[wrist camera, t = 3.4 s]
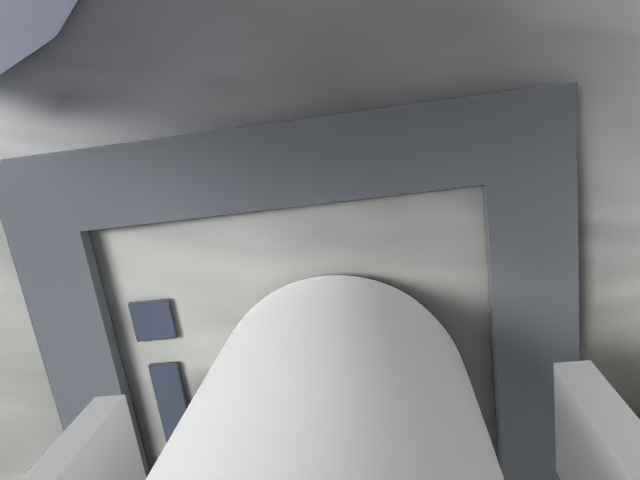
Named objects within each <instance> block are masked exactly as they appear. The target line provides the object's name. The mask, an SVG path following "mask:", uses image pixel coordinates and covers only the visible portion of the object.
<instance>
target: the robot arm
mask: <svg viewBox="0 0 640 480" xmlns="http://www.w3.org/2000/svg"><path fill="white" fill-rule="evenodd" d="M554 404H555V445H556V471H557V473H558V475H559V477H560V479H561V480H640V419H639V418H638V417H637V416H636V415H635V413H634V412H633V411H632V410H631V409H630V407H629V406H628V405H627V404H626V403H625V401H624V400H623V399H622V398H621V396H620V395H619V394H618V393H617V392H616V390H615V389H614V388H613V387H612V386H611V384H610V383H609V382H608V381H607V380H606V378H605V377H604V376H603V375H602V373H601V372H600V371H599V370H598V369H597V367H596V366H595V365H594V364H593V363H592V361H591V360H586V361H572V362H558V363H554ZM20 480H146V475H145V471H144V467H143V463H142V459H141V455H140V451H139V447H138V444H137V440H136V436H135V432H134V428H133V424H132V420H131V416H130V412H129V408H128V404H127V401H126V397H125V395H112V396H98V397H94V399H93V400H92V401H91V402H90V403H89V404H88V405H87V406H86V407H85V408H84V410H83V411H82V412H81V413H80V414H79V415H78V416H77V417H76V418H75V420H74V421H73V422H72V423H71V424H70V425H69V426H68V427H67V428H66V429H65V431H64V432H63V433H62V434H61V435H60V436H59V437H58V438H57V439H56V440H55V442H54V443H53V444H52V445H51V446H50V447H49V448H48V449H47V450H46V452H45V453H44V454H43V455H42V456H41V457H40V458H39V459H38V460H37V461H36V463H35V464H34V465H33V466H32V467H31V468H30V469H29V470H28V471H27V473H26V474H25V475H24V476H23V477H22V478H21V479H20Z"/></svg>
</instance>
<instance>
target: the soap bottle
mask: <svg viewBox="0 0 640 480" xmlns="http://www.w3.org/2000/svg"><path fill="white" fill-rule="evenodd" d="M77 1H78V0H0V74H2V73H3V72H5V71H6V70H8V69H9V68H11V67H12V66H14V65H15V64H17V63H18V62H19V61H21V60H22V59H24V58H25V57H27V56H28V55H30V54H31V53H33V52H34V51H36V50H37V49H39V48H40V47H41V46H43V45H44V44H46V43H47V42H49V41H50V40H52V39H53V38H55V37H56V36H57V35H58V34H59V32H60V30H61V28H62V27H63V25H64V23H65V22H66V20H67V18H68V16H69V15H70V13H71V11H72V9H73V8H74V6H75V4H76V3H77Z"/></svg>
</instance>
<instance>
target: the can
mask: <svg viewBox="0 0 640 480" xmlns="http://www.w3.org/2000/svg"><path fill="white" fill-rule="evenodd" d="M146 480H504V477H503V474H502V471H501V468H500V465H499V462H498V460H497V457H496V454H495V451H494V448H493V445H492V442H491V439H490V436H489V434H488V431H487V428H486V425H485V422H484V419H483V416H482V413H481V411H480V408H479V405H478V402H477V399H476V396H475V393H474V391H473V388H472V385H471V382H470V379H469V377H468V374H467V371H466V368H465V366H464V363H463V361H462V358H461V356H460V353H459V351H458V349H457V347H456V345H455V344H454V342H453V340H452V338H451V337H450V335H449V334H448V332H447V331H446V330H445V328H444V327H443V326H442V325H441V324H440V322H439V321H438V320H437V319H436V318H435V317H434V316H433V315H432V314H431V313H430V312H429V311H428V310H427V309H426V308H425V307H423V306H422V305H421V304H420V303H419V302H417V301H416V300H415V299H413V298H412V297H410V296H409V295H407V294H406V293H404V292H402V291H400V290H398V289H396V288H394V287H392V286H390V285H387V284H384V283H382V282H379V281H375V280H371V279H367V278H362V277H356V276H346V275H329V276H319V277H313V278H308V279H304V280H300V281H297V282H294V283H291V284H289V285H286V286H284V287H282V288H280V289H278V290H276V291H274V292H272V293H271V294H269V295H268V296H266V297H265V298H263V299H262V300H261V301H259V302H258V303H257V304H256V305H255V306H254V307H252V308H251V309H250V310H249V311H248V312H247V314H246V315H245V316H244V317H243V318H242V319H241V321H240V322H239V323H238V325H237V326H236V327H235V329H234V330H233V332H232V334H231V335H230V337H229V338H228V340H227V342H226V343H225V345H224V346H223V348H222V350H221V351H220V353H219V355H218V356H217V358H216V360H215V361H214V363H213V365H212V367H211V368H210V370H209V372H208V373H207V375H206V377H205V379H204V380H203V382H202V384H201V385H200V387H199V389H198V390H197V392H196V394H195V396H194V397H193V399H192V401H191V402H190V404H189V406H188V408H187V409H186V411H185V413H184V414H183V416H182V418H181V420H180V421H179V423H178V425H177V426H176V428H175V430H174V432H173V433H172V435H171V437H170V438H169V440H168V442H167V444H166V445H165V447H164V449H163V450H162V452H161V454H160V456H159V457H158V459H157V461H156V462H155V464H154V466H153V468H152V469H151V471H150V473H149V475H148V476H147V478H146Z"/></svg>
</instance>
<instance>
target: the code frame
mask: <svg viewBox="0 0 640 480" xmlns="http://www.w3.org/2000/svg"><path fill="white" fill-rule="evenodd" d="M481 185H483V194H484V212H485V230H486V247H487V265H488V283H489V300H490V318H491V336H492V353H493V371H494V389H495V406H496V424H497V442H498V459H499V465H500V468H501V471H502V474H503V477H504V480H561V479H560V477H559V475H558V473H557V471H556V445H555V404H554V363H558V362H572V361H580V342H579V248H578V154H577V82H572V83H563V84H556V85H549V86H541V87H534V88H526V89H519V90H512V91H504V92H497V93H489V94H482V95H475V96H467V97H460V98H453V99H445V100H438V101H430V102H423V103H416V104H408V105H401V106H394V107H386V108H379V109H371V110H364V111H357V112H349V113H342V114H334V115H327V116H320V117H312V118H305V119H298V120H290V121H283V122H275V123H268V124H261V125H253V126H246V127H238V128H231V129H224V130H216V131H209V132H202V133H194V134H187V135H179V136H172V137H165V138H157V139H150V140H143V141H135V142H128V143H120V144H113V145H106V146H98V147H91V148H83V149H76V150H69V151H61V152H54V153H47V154H39V155H32V156H24V157H17V158H10V159H2V160H0V217H1V221H2V224H3V228H4V231H5V234H6V238H7V241H8V245H9V248H10V251H11V255H12V258H13V262H14V265H15V268H16V272H17V275H18V278H19V282H20V285H21V289H22V292H23V295H24V299H25V302H26V306H27V309H28V312H29V316H30V319H31V323H32V326H33V329H34V333H35V336H36V339H37V343H38V346H39V350H40V353H41V356H42V360H43V363H44V367H45V370H46V373H47V377H48V380H49V384H50V387H51V390H52V394H53V397H54V400H55V404H56V407H57V411H58V414H59V417H60V421H61V424H62V428H63V431H65V429H66V428H67V427H68V426H69V425H70V424H71V423H72V422H73V421H74V420H75V418H76V417H77V416H78V415H79V414H80V413H81V412H82V411H83V410H84V408H85V407H86V406H87V405H88V404H89V403H90V402H91V401H92V400H93V399H94V397H98V396H112V395H125V397H126V401H127V404H128V408H129V412H130V416H131V420H132V424H133V428H134V432H135V436H136V440H137V444H138V447H139V451H140V455H141V459H142V463H143V467H144V471H145V475H146V478H147V476H148V475H149V473H150V471H149V467H148V463H147V459H146V455H145V451H144V448H143V444H142V440H141V436H140V432H139V428H138V424H137V420H136V416H135V412H134V408H133V404H132V400H131V396H130V392H129V388H128V384H127V380H126V377H125V373H124V369H123V365H122V361H121V357H120V353H119V349H118V345H117V341H116V337H115V333H114V329H113V325H112V321H111V317H110V313H109V309H108V305H107V302H106V298H105V294H104V290H103V286H102V282H101V278H100V274H99V270H98V266H97V262H96V258H95V254H94V250H93V246H92V242H91V238H90V234H89V230H98V229H107V228H115V227H124V226H133V225H142V224H150V223H159V222H168V221H176V220H185V219H194V218H202V217H211V216H220V215H228V214H237V213H246V212H255V211H263V210H272V209H281V208H289V207H298V206H307V205H315V204H324V203H333V202H341V201H350V200H359V199H368V198H376V197H385V196H394V195H402V194H411V193H420V192H428V191H437V190H446V189H455V188H463V187H472V186H481ZM128 306H129V310H130V314H131V318H132V322H133V327H134V331H135V335H136V339H137V342H140V341H152V340H163V339H175V338H177V332H176V328H175V323H174V319H173V314H172V310H171V305H170V301H169V299H160V300H150V301H140V302H130V303H129V304H128ZM148 367H149V371H150V375H151V379H152V383H153V387H154V392H155V396H156V400H157V404H158V408H159V413H160V417H161V421H162V425H163V429H164V433H165V438H166V442H168V440H169V438H170V437H171V435H172V433H173V432H174V430H175V428H176V426H177V425H178V423H179V421H180V420H181V418H182V416H183V414H184V413H185V411H186V409H187V408H188V406H187V401H186V397H185V392H184V388H183V383H182V379H181V374H180V370H179V365H178V362H169V363H157V364H150V365H149V366H148Z"/></svg>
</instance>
